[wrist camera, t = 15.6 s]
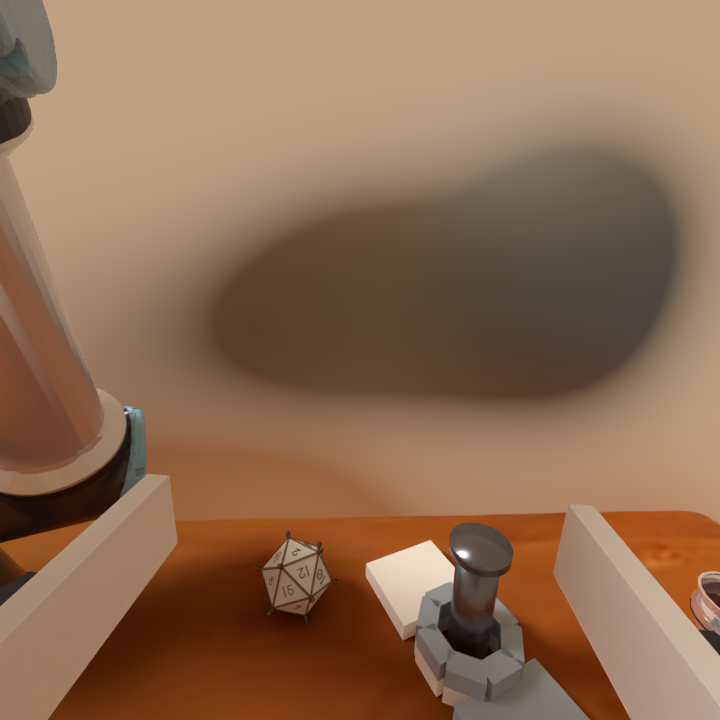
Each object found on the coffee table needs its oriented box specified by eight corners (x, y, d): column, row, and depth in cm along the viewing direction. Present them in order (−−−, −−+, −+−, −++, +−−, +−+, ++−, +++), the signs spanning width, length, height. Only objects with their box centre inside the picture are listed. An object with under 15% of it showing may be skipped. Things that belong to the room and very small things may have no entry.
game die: (286, 617, 45) (269, 532, 48) (351, 598, 44) (329, 513, 47) (254, 655, 36) (235, 548, 39) (333, 632, 36) (309, 526, 39)
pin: (426, 643, 39) (437, 532, 35) (467, 622, 41) (481, 516, 37) (462, 698, 34) (479, 576, 30) (506, 671, 36) (526, 555, 33)
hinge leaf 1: (365, 576, 47) (366, 563, 46) (429, 552, 51) (430, 540, 50) (459, 737, 31) (461, 720, 30) (540, 682, 35) (543, 667, 35)
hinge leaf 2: (398, 632, 40) (400, 603, 39) (468, 598, 44) (472, 571, 43) (540, 875, 24) (550, 838, 23) (628, 787, 28) (640, 752, 27)
